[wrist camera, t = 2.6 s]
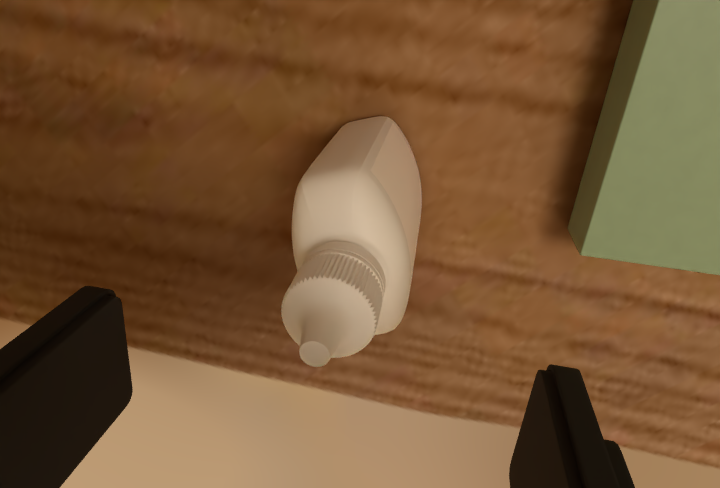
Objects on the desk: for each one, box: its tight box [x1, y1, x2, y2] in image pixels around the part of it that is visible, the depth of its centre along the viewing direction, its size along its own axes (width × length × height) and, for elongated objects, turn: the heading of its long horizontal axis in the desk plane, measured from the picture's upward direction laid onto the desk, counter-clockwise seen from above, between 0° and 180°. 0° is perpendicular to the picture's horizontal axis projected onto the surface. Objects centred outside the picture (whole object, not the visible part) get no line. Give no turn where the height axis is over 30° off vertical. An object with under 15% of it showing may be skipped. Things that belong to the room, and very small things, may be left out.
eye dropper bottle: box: [281, 116, 422, 367], centre depth 17 cm, size 4×6×12 cm
